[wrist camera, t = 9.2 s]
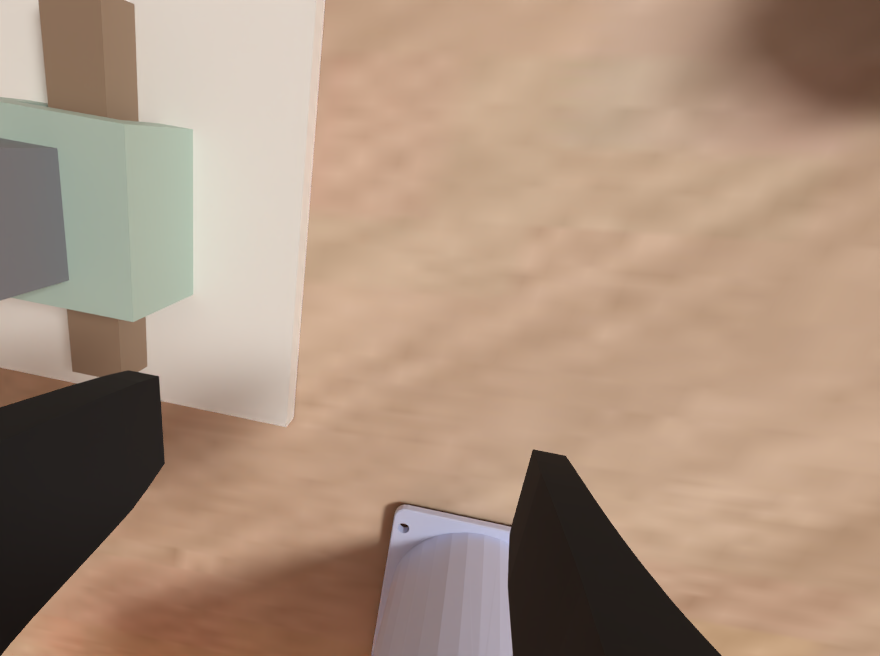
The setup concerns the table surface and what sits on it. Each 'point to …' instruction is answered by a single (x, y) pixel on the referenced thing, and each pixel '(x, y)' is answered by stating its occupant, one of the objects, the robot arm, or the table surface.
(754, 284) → the table surface
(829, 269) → the table surface
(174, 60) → the board
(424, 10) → the table surface
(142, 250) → the sage slotted block
